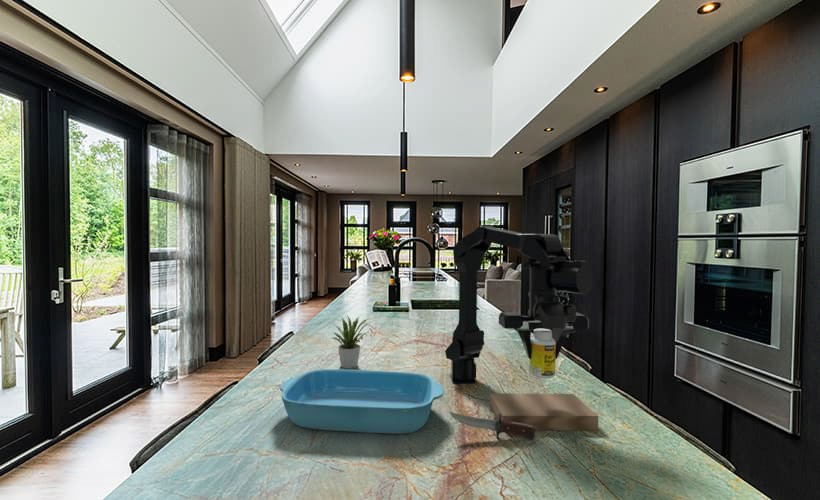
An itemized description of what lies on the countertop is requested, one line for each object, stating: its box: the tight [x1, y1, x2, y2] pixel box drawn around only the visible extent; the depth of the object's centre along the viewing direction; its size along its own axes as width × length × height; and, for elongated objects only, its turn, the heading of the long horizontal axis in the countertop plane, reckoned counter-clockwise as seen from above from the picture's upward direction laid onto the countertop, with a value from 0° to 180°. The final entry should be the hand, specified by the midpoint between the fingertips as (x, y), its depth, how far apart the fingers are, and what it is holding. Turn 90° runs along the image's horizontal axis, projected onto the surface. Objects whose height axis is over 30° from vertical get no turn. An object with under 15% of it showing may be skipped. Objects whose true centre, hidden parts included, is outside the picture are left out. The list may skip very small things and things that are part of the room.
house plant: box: [328, 314, 373, 369], centre depth 121 cm, size 14×14×16 cm
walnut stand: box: [489, 392, 599, 431], centre depth 85 cm, size 20×12×3 cm, turn 90°
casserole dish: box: [279, 368, 445, 435], centre depth 86 cm, size 37×22×7 cm, turn 86°
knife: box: [448, 411, 536, 440], centre depth 76 cm, size 17×1×5 cm, turn 87°
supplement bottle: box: [528, 327, 556, 380], centre depth 86 cm, size 6×6×10 cm
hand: (542, 358), depth 86 cm, fingers closed on supplement bottle, 5 cm apart
